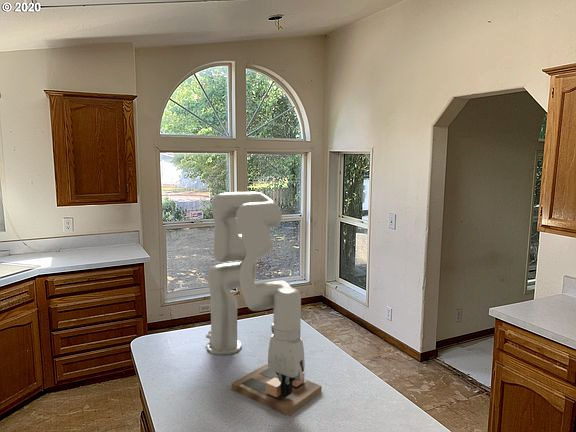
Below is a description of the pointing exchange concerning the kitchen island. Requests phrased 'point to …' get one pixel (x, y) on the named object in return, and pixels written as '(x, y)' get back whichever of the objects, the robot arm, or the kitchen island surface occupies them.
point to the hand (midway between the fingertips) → (286, 394)
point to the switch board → (256, 390)
